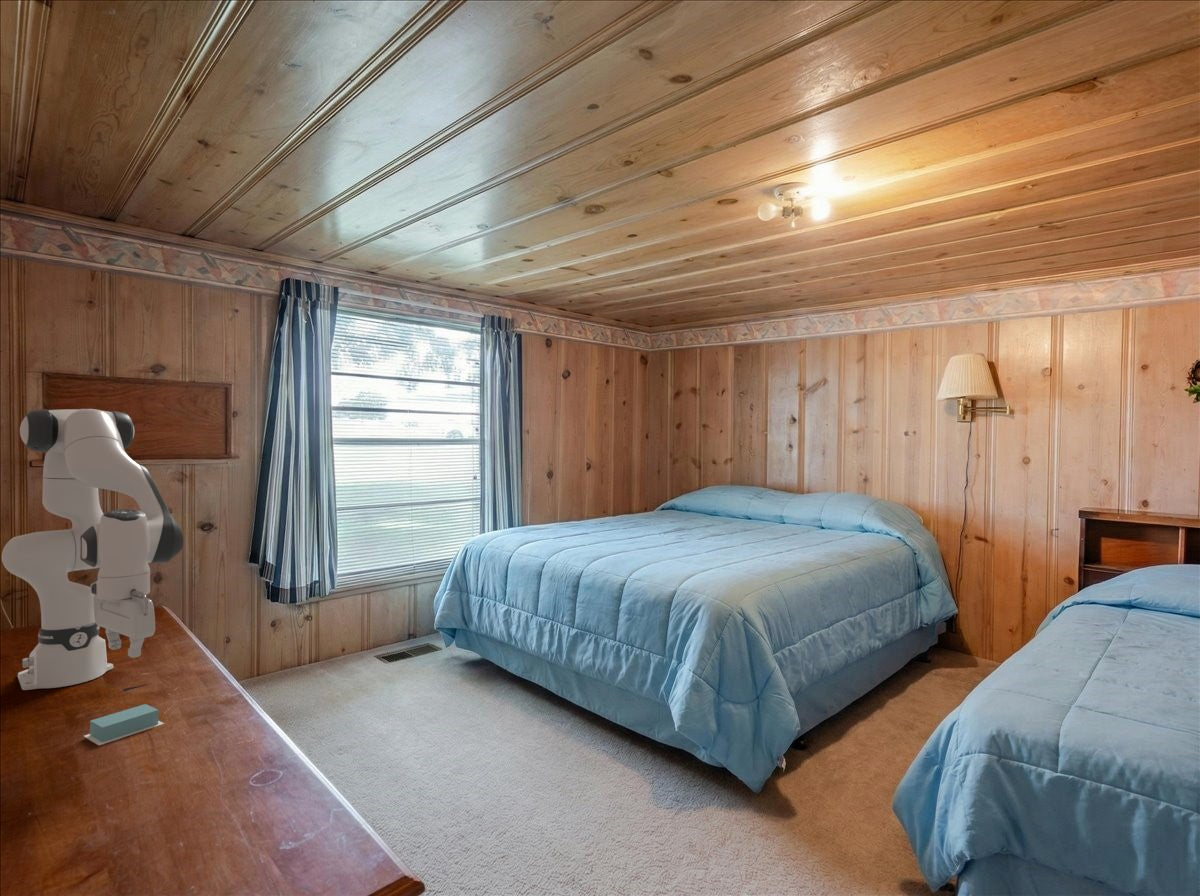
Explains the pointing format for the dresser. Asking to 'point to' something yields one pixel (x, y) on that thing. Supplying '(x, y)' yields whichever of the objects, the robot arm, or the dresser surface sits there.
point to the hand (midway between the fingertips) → (124, 652)
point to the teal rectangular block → (123, 722)
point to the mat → (118, 737)
